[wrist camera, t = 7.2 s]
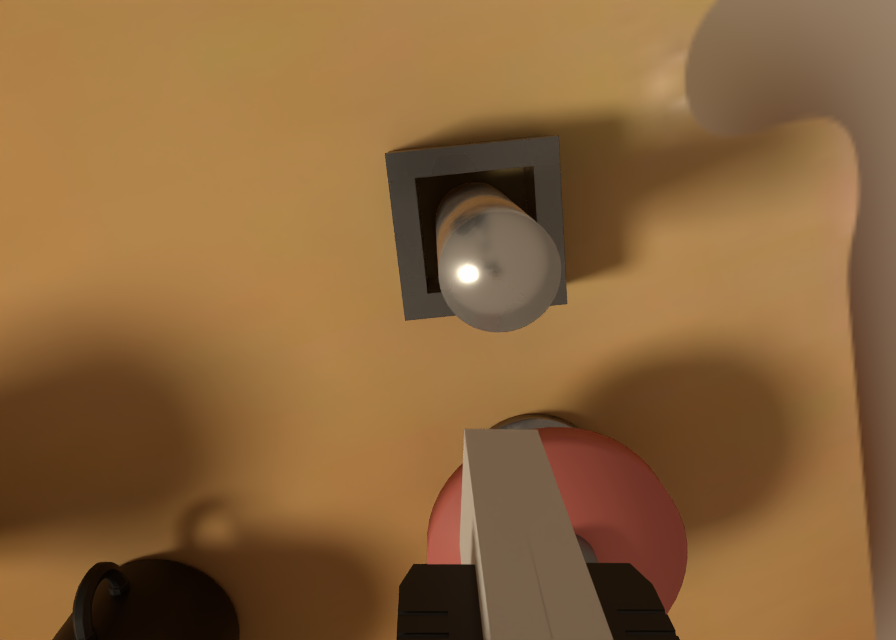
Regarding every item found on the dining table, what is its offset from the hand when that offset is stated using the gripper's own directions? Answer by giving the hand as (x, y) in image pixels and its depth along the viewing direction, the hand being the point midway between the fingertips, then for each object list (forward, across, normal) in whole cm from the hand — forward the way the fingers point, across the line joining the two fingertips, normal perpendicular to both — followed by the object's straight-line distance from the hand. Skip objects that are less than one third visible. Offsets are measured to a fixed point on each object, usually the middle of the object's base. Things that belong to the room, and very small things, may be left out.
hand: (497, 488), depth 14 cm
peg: (+22, +1, +2) cm, 22 cm away
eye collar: (+22, +1, +2) cm, 22 cm away
